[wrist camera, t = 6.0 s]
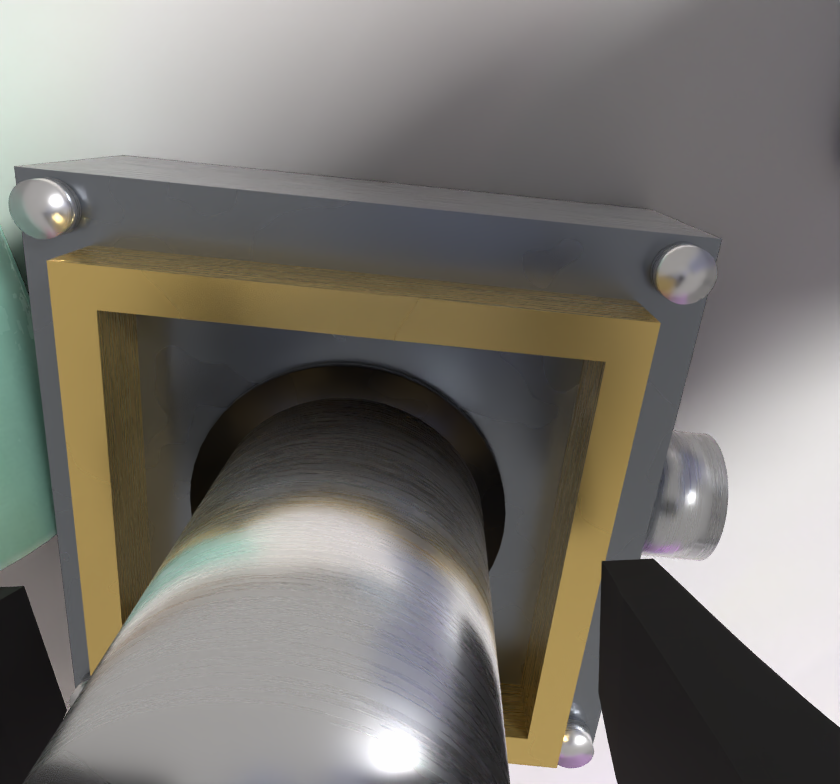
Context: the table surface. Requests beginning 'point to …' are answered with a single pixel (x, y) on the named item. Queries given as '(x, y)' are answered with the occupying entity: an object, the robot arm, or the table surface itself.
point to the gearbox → (373, 380)
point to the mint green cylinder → (21, 425)
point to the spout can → (307, 623)
